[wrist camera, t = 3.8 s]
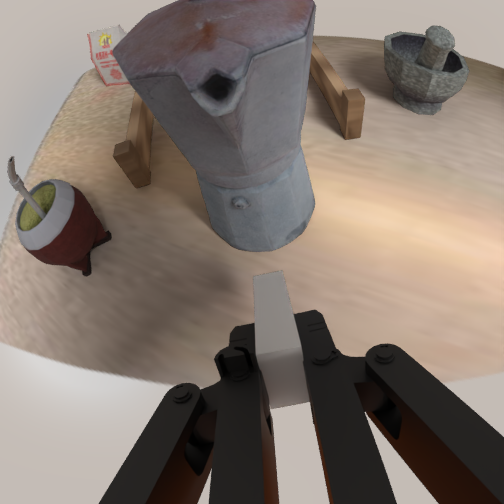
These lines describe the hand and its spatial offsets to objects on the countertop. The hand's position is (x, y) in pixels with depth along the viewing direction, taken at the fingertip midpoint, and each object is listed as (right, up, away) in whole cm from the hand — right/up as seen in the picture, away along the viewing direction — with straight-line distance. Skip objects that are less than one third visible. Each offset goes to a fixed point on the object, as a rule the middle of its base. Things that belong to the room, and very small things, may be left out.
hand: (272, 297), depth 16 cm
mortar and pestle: (+18, +20, +14) cm, 30 cm away
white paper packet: (-21, +30, +25) cm, 44 cm away
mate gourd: (-17, +3, +12) cm, 21 cm away
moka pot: (-1, +6, +11) cm, 12 cm away
